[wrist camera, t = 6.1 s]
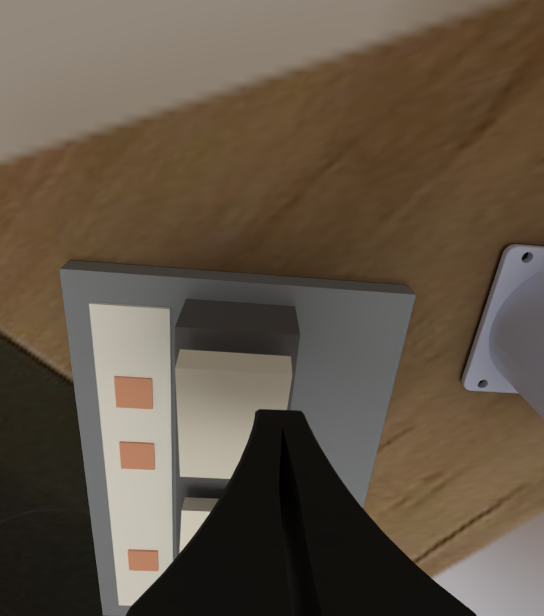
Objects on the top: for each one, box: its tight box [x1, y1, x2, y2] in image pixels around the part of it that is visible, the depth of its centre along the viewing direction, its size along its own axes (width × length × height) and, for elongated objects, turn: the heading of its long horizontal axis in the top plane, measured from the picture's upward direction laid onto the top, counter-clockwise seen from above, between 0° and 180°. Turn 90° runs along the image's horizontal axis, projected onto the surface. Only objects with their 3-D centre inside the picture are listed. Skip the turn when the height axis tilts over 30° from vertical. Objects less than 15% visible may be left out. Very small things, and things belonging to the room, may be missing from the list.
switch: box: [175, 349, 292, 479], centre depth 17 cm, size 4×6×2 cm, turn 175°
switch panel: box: [60, 260, 416, 616], centre depth 24 cm, size 16×25×4 cm, turn 175°
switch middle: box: [179, 497, 219, 553], centre depth 21 cm, size 4×6×2 cm, turn 175°
